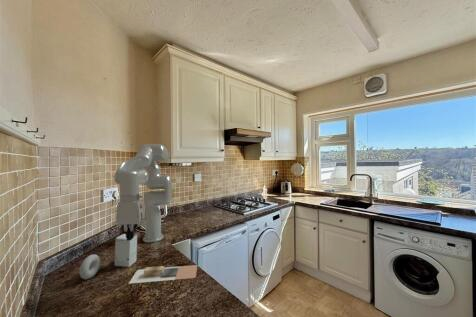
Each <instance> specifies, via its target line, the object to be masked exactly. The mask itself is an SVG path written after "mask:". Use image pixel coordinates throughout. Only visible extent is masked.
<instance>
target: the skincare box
mask: <svg viewBox="0 0 476 317" xmlns="http://www.w3.org/2000/svg"><path fill="white" fill-rule="evenodd" d="M114 245H115V246H114V266H115V267H125V268H126V267H127V268H129V267H131V266H132V265H133V264H134V263H136V262H137V254H138V253H137V251H138V249H137V248H138V235H137V234H134V237H133V239H132V240H128V241H127V238H126V233H122V234H121V235H119V236H117V237H115V243H114Z"/></svg>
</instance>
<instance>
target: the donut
mask: <svg viewBox="0 0 476 317" xmlns="http://www.w3.org/2000/svg"><path fill="white" fill-rule="evenodd" d="M100 266H101V259H100V256H99V255H97V254H90V255H88V256H87V257H85V258H84V259H83V261H81V264H80V267H79V276H80V278H81V279H83V280H89V279H91V278H93V277H94V276H95V275H96V274H97V273H98V271H99V268H100Z"/></svg>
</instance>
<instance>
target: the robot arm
mask: <svg viewBox="0 0 476 317" xmlns="http://www.w3.org/2000/svg"><path fill="white" fill-rule="evenodd" d="M169 157H170V153H169V150H168V149H167V147H166V146H165V145H164V144H161V143H145V144H141V145H140V147H139V149H138V151H137V152H136V154H135V156H133V157H131V158H129V159H127V160H125V161H123V162H121V163H120V164H119V166H118V167H117V169H116V170H115V173H114V182H115V183H116V185H118V186H119V201H118V203H117V206H116V215H115V216H116V217H115V221H116V228H121V229H123V230H124V232H125V234H126V238H127V241H128V240H132V239H133V237H134V235H135V229H136V228H137V227H140V226H143V225H145V229H144V230H145V236H144V237H142V241H143V242H144V243H155V242H159V241H161V240H162V239H164V234H163V233H162V212H161V209H160V208H159V206H169V205H171V204H172V199H173V198H172V196H173V193H172V192H173V190H172V189H173V188H172V187H173V185H172V183H173V182H172V177H171V175H169V174H161V167H160V165H159V163H157V162H161V163H163V162H167V161H168V160H169ZM145 184H146V188H147V189H148V190H154V191H148V192H146V193H144V194H143V195H141V194H140V185H145ZM155 190H156V191H155ZM142 198H143V203H142V200H141V199H142ZM143 205H144V207H143ZM143 208H144V209H143ZM144 216H145V217H144ZM144 218H145V219H144ZM143 220H144V221H143ZM143 222H145V223H143Z"/></svg>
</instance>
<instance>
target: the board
mask: <svg viewBox="0 0 476 317" xmlns="http://www.w3.org/2000/svg"><path fill="white" fill-rule="evenodd" d="M167 268H178V272H177V275H176V276H175V277H163V278H161V276H153V277H144V270H145V268H143V269H142V268H141V269H137V270H136V271H135V273H134V275H133V276H132V278H131V279H130V280H129V282H128V285H129V284H139V283H140V284H141V283H151V282H152V283H153V282H162V281H175V280H188V279H195V278H197V271H198V264H193V265H183V266H182V265H181V266H179V265H178V266H169V267H164V269H167Z"/></svg>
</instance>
